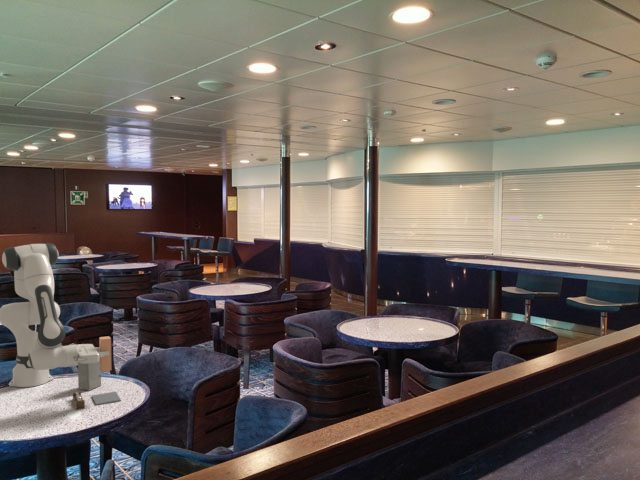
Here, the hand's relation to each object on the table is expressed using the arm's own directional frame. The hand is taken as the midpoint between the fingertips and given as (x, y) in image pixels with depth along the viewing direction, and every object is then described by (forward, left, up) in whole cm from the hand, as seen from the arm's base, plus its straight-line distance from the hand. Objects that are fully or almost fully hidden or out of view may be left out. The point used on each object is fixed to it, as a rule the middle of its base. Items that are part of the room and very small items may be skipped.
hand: (107, 351), depth 226 cm
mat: (0, -1, -21) cm, 21 cm away
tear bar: (0, -12, -21) cm, 24 cm away
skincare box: (-20, -5, -21) cm, 30 cm away
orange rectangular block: (0, -1, -8) cm, 8 cm away
